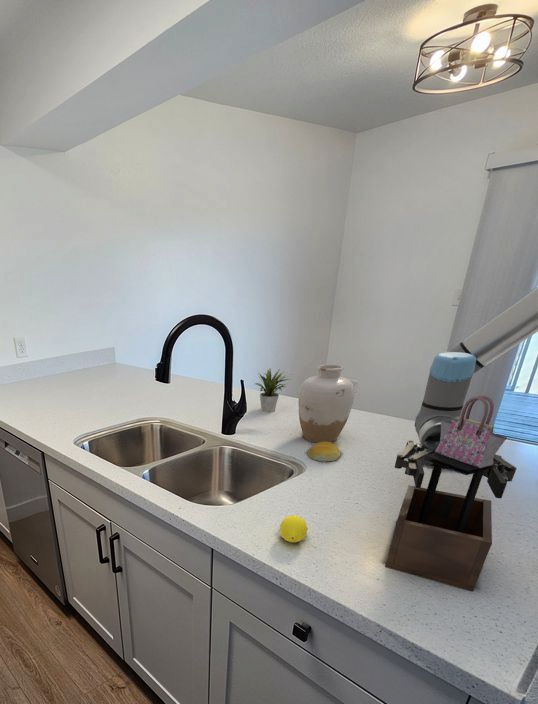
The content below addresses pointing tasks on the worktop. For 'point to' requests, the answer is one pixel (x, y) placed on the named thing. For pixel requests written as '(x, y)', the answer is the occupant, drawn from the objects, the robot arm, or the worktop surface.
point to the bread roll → (324, 451)
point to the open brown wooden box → (441, 540)
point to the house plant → (270, 391)
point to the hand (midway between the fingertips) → (459, 485)
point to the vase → (325, 404)
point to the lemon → (293, 528)
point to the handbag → (462, 458)
